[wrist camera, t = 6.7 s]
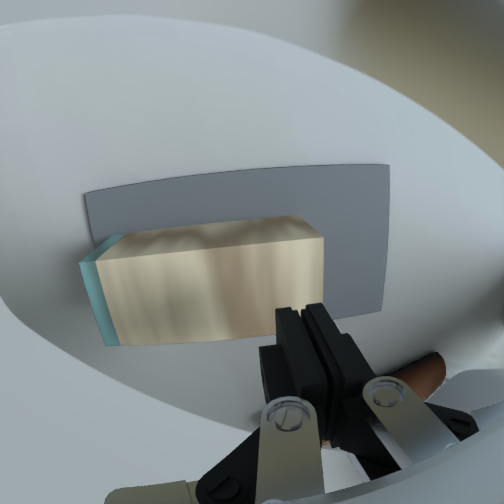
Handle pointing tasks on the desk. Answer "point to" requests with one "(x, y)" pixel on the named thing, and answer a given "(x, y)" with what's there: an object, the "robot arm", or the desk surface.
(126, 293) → the wooden block
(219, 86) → the desk surface
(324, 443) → the sunglasses case
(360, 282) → the charcoal mat
